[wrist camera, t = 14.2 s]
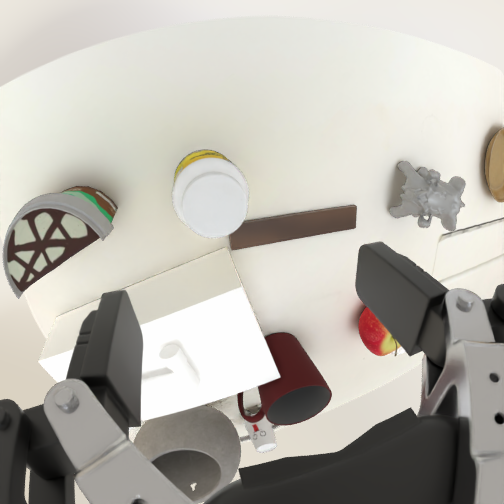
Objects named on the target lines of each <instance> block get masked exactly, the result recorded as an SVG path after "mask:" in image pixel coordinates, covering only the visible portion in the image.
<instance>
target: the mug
mask: <svg viewBox="0 0 504 504" xmlns="http://www.w3.org/2000/svg"><path fill="white" fill-rule="evenodd" d="M265 340H266V343H267V345H268V348H269V350H270V353H271V355H272V357H273V360H274V362H275V365H276V367H277V370H278V372H279V374H280V378H277V379H275V380H272V381H270V382H267V383H265V384H262V385H259V386H258V389H259V394H260V398H261V409H260V411H259V412H258V413H257V414H255V415H253V416H247V415H246V414H245V411H244V407H243V392H240V393H238V394H237V398H238V407H239V410H240V413H241V415H242V417H243V418H244V419H245V420H246V421H247V422H250V423H256V422H259V421H260V420H262V419H263V418H264V416H266V418H267V420H268V421H269V422H270V423H272V424H275V425H292V424H297V423H300V422H303V421H305V420H308V419H310V418H312V417H313V416H315V415H317V414H318V413H319V412H321V411H322V410H323V409H324V408H325V407H326V406H327V405H328V403H329V402H330V400H331V397H332V393H331V390H330V388H329V387H328V385H327V383H326V381H325V380H324V378H323V377H322V375H321V374H320V372H319V371H318V369H317V368H316V366H315V365H314V363H313V362H312V360H311V359H310V357H309V356H308V355H307V353H306V352H305V350H304V349H303V347H302V346H301V344H300V343H299V342H298V340H297V339H296V338H295V337H294V336H293V335H291V334H288V333H275V334H271V335H269V336H267V337H265Z"/></svg>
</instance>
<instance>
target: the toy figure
mask: <svg viewBox="0 0 504 504" xmlns="http://www.w3.org/2000/svg"><path fill="white" fill-rule="evenodd" d="M258 407H259V411H260V409H261V404H260V405H258ZM245 414H246V415H247V416H253V415H255V414H252V413H250V412H248V411H245ZM244 425H245V427H246V429H247V431H248V433H249V435H248V436H245V437H244V436H243V437H242V438H241V437H240V441H241V442H242V441H245V440H250V439H251V440H252V442H253V444H254V446H255V449H256V451H257V452H260V453H264V452H269V451H271V450H273V449H275V448H276V447H277V444H276V439H275V434H274V429H275V428H276V427H278V426H279V425H275V424H274V425H273V424H272V423H270V422H269V421H268V420H267V418H266V416H264V418H263V419H262V420H260V421H259V422H256V423H250V422H247V421H246V420H245V421H244ZM279 427H280V426H279ZM276 429H277V428H276Z"/></svg>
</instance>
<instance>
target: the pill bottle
mask: <svg viewBox="0 0 504 504" xmlns="http://www.w3.org/2000/svg"><path fill="white" fill-rule="evenodd" d="M172 200H173V206H174V209H175V212H176V214H177V216H178V217H179V219H180V220H181V221H182V222H183V223H184V224H185V225H186V226H188V227H189V228H190V229H191V230H192V231H194V232H195V233H197V234H198V235H200V236H203V237H207V238H221V237H224V236H227V235H229V234H231V233H233V232H234V231H235V230H237V229H238V228H239V227H240V225H241V224H242V223H243V221H244V219H245V217H246V215H247V210H248V200H249V188H248V184H247V181H246V179H245V177H244V175H243V174H242V172H241V171H240V170H239V169H238V168H237V167H236V166H235V165H234V164H233V163H232V162H230V161H229V160H228V159H227V158H226V157H225V156H223V155H222V154H220V153H218V152H216V151H212V150H198V151H195V152H193V153H191V154H189V155H187V156H186V157H185V158H184V159H183V160H182V161H181V162H180V164H179V165H178V167H177V169H176V172H175V177H174V185H173V191H172Z"/></svg>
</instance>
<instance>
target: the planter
mask: <svg viewBox="0 0 504 504" xmlns="http://www.w3.org/2000/svg"><path fill="white" fill-rule="evenodd" d="M133 444H134V445H135V446H136V447H137V448H138V449H139V450H140V451H141V453H142V454H143V455H144V456H145V457H146V458H147V459H148V460H149V461H150V462H151V463H152V464H153V465H154V466H155V467H156V468H157V469H158V470H159V471H160V472H161V473H162V474H163V475H164V476H165V477H166V478H167V479H168V480H169V481H170V482H172V483H173V484H174V485H175V486H176V487H177V488H178V489H179V490H180V491H182V492H183V493H184V494H185V495H186V496H187V497H188V498H190V499H191V500H192V501H193V502H194V503H196V504H198V503H202V502H205V501H206V500H208V499H209V498H210V497H211V496H212V495H213V494H215V493H216V492H217V491H219V490H220V489H222V488H223V487H225V486H227V485H229V484H230V482H231V481H232V479H233V478H234V476H235V474H236V472H237V469H238V466H239V463H240V457H241V445H240V439H239V436H238V433H237V431H236V429H235V427H234V425H233V424H232V422H231V421H230V420H229V419H228V417H227V416H225V415H224V414H223V413H222V412H220V411H218V410H217V409H215V408H212V407H210V406H206V405H201V406H197V407H194V408H190V409H187V410H183V411H180V412H176V413H172V414H169V415H165V416H161V417H157V418H153V419H149V420H148V421H147V422H146V423H145V424H144V425H143V426H142V427H141V429H140V430H139V432H138V433H137V435H136V437H135V440H134V443H133ZM193 483H197V485H196V486H195V490H194V491H192V488H191V486H190V485H191V484H193Z"/></svg>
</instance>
